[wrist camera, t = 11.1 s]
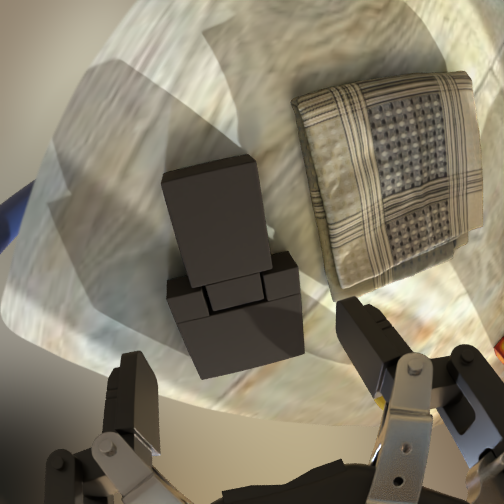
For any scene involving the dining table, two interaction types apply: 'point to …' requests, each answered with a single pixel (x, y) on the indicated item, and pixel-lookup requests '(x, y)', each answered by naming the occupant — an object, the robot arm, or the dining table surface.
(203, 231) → the pad
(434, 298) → the dining table surface
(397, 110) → the dish towel
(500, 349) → the baking soda box
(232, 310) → the notch pad
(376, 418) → the dining table surface
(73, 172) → the dining table surface
